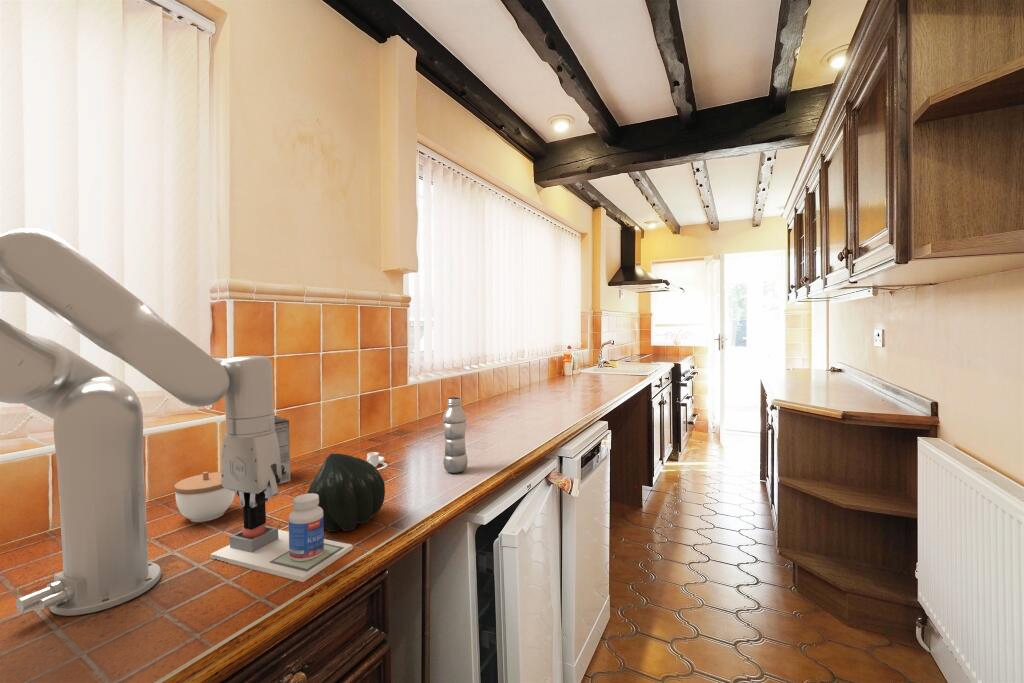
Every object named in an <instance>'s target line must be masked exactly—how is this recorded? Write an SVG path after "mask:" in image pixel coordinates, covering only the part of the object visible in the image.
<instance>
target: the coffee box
mask: <svg viewBox="0 0 1024 683" xmlns="http://www.w3.org/2000/svg"><path fill="white" fill-rule="evenodd" d="M274 422H275V432H276V435H277V439H278V444H279V450H280V457H281V470H282V477H281V483H280V484H284V483H289V482H291V450H290V449H291V448H290V443H291V442H290V420H289V419H286V418H283V417H280V416H279V415H274ZM280 484H279V485H280Z"/></svg>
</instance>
